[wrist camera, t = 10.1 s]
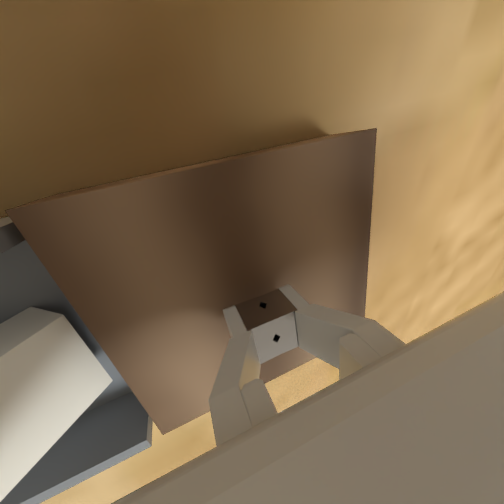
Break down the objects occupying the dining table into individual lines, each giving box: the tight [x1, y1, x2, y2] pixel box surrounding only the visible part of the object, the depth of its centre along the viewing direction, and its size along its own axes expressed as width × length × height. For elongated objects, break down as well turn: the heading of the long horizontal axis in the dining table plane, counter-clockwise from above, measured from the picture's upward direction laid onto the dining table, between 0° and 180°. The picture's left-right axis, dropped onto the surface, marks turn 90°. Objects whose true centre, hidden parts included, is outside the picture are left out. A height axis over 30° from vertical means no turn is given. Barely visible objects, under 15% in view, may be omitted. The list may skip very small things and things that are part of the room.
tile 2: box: [0, 307, 113, 502], centre depth 8 cm, size 4×4×2 cm
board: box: [6, 128, 377, 435], centre depth 12 cm, size 13×12×3 cm
